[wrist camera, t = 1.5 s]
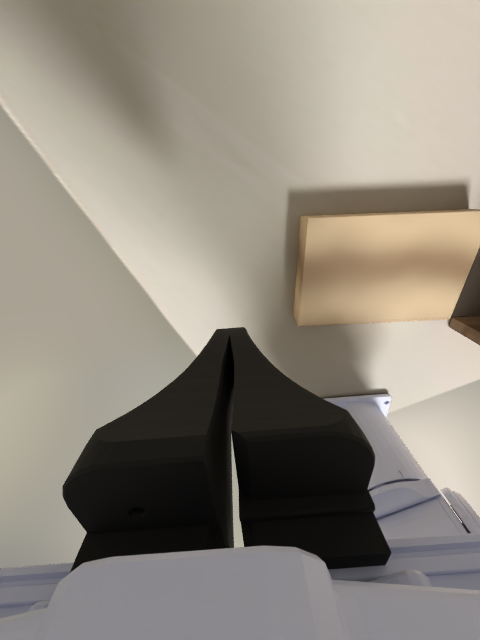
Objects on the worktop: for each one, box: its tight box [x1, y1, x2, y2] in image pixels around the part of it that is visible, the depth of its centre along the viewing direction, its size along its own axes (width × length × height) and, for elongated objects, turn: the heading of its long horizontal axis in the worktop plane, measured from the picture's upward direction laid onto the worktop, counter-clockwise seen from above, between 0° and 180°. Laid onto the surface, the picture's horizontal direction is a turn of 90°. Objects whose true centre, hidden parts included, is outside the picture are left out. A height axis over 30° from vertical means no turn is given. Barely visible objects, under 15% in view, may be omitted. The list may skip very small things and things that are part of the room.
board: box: [293, 209, 480, 326], centre depth 20 cm, size 8×13×2 cm, turn 92°
